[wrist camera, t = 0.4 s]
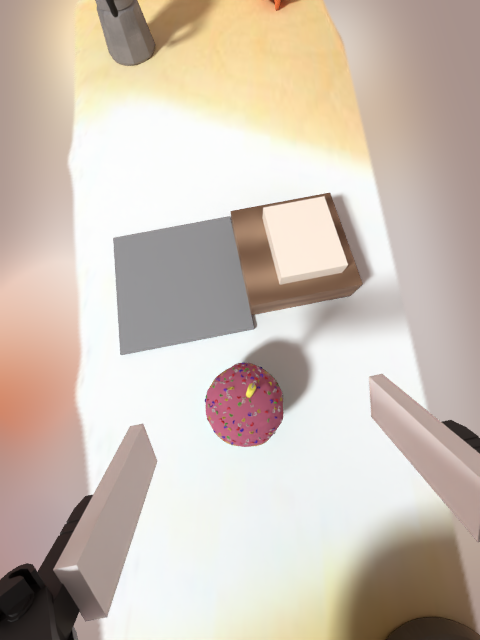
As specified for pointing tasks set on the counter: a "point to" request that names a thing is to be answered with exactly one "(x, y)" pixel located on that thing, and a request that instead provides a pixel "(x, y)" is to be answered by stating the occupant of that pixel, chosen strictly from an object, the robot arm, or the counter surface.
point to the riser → (262, 271)
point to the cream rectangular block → (303, 240)
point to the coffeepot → (125, 31)
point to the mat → (179, 286)
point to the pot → (277, 4)
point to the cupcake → (244, 405)
